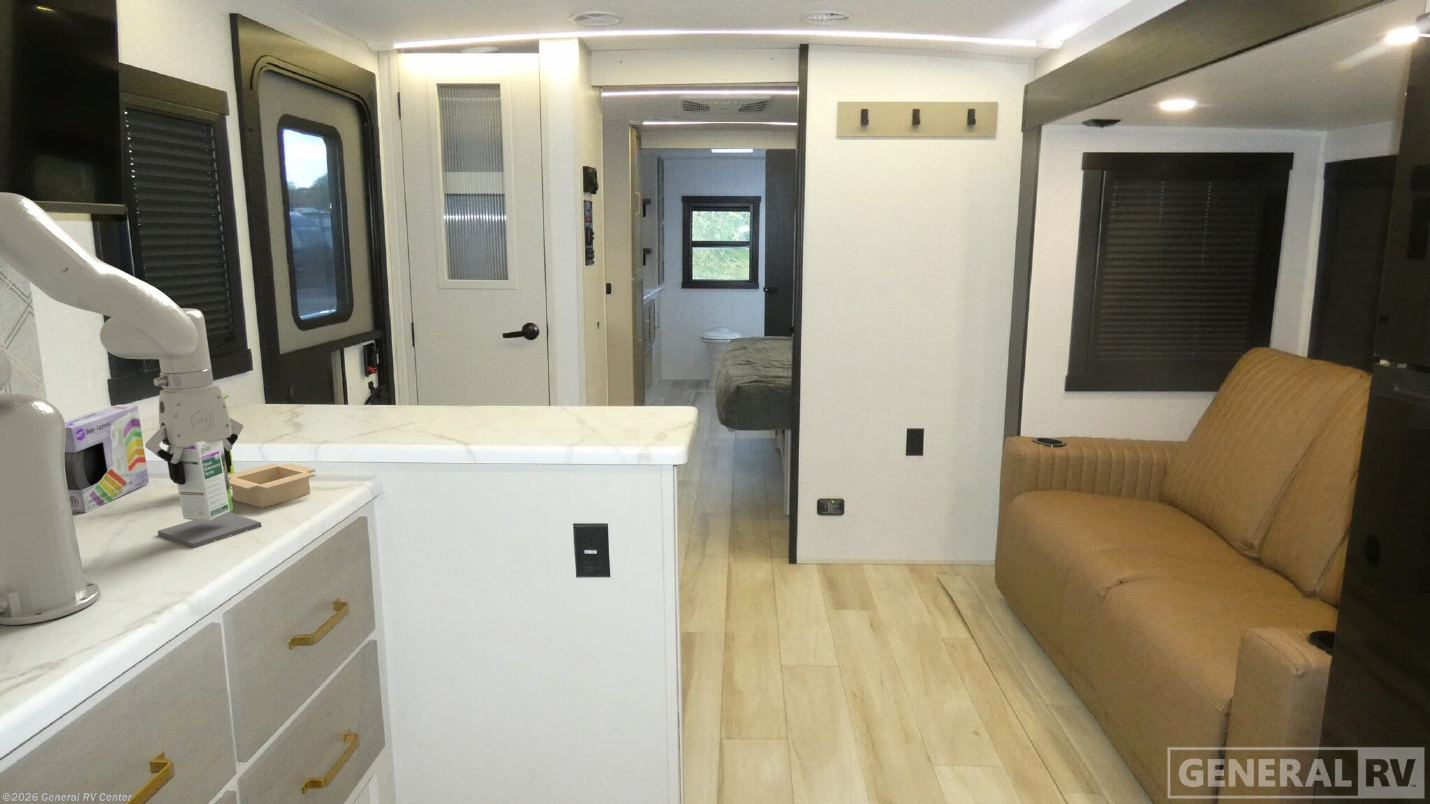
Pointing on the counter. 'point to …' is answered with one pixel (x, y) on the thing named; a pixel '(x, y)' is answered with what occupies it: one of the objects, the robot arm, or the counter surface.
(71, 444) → the cake pan box
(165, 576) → the counter surface
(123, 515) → the counter surface
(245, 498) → the carton
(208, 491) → the syrup box
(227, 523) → the mat
